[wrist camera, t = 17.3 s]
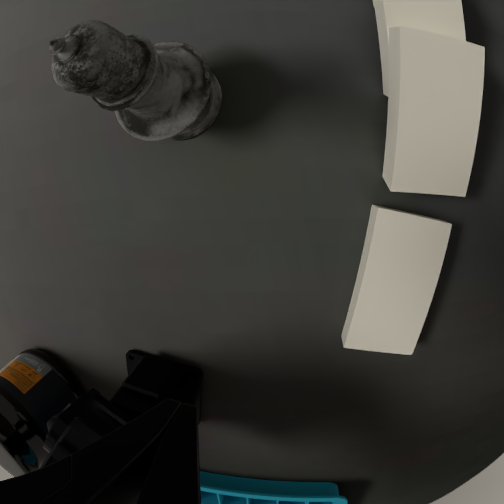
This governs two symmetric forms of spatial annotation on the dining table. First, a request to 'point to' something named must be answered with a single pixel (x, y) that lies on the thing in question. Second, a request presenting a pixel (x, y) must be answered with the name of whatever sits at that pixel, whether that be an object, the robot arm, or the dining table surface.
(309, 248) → the dining table surface
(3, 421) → the supplement container
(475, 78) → the domino
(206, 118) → the chess piece
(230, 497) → the ice cube tray
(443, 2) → the domino
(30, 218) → the dining table surface
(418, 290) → the domino
